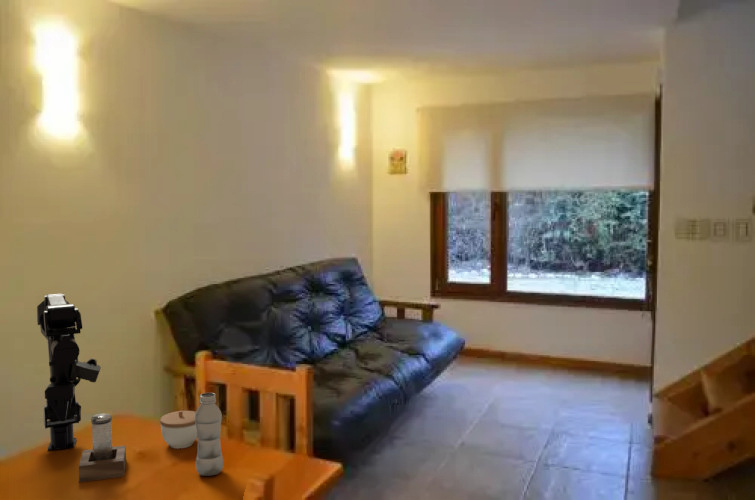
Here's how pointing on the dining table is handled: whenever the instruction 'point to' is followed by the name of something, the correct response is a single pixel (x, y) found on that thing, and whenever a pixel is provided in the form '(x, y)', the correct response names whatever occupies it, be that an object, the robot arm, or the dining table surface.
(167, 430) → the lidded jar
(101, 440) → the silver metal can
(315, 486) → the dining table surface
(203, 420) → the plastic bottle
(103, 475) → the socket block
